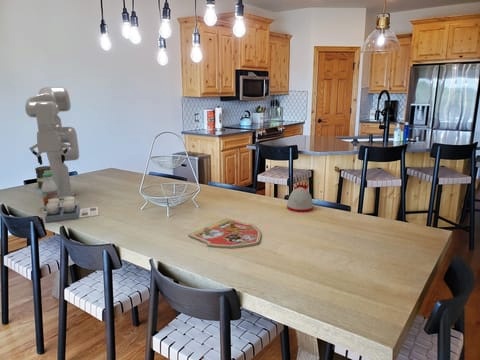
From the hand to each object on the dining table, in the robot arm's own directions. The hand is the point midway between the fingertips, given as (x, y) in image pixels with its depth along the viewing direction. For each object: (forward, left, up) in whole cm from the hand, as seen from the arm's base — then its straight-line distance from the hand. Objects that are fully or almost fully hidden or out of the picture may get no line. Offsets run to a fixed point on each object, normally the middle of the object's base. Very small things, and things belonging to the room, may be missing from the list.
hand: (52, 163), depth 174 cm
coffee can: (-71, -14, -29) cm, 78 cm away
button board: (-4, +1, -29) cm, 29 cm away
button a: (-7, -3, -25) cm, 26 cm away
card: (-4, +13, -29) cm, 32 cm away
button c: (0, -3, -25) cm, 25 cm away
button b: (-7, +5, -25) cm, 27 cm away
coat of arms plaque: (+56, +72, -30) cm, 96 cm away
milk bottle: (-20, -6, -29) cm, 36 cm away
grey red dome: (+36, +119, -29) cm, 128 cm away
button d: (0, +5, -25) cm, 26 cm away
